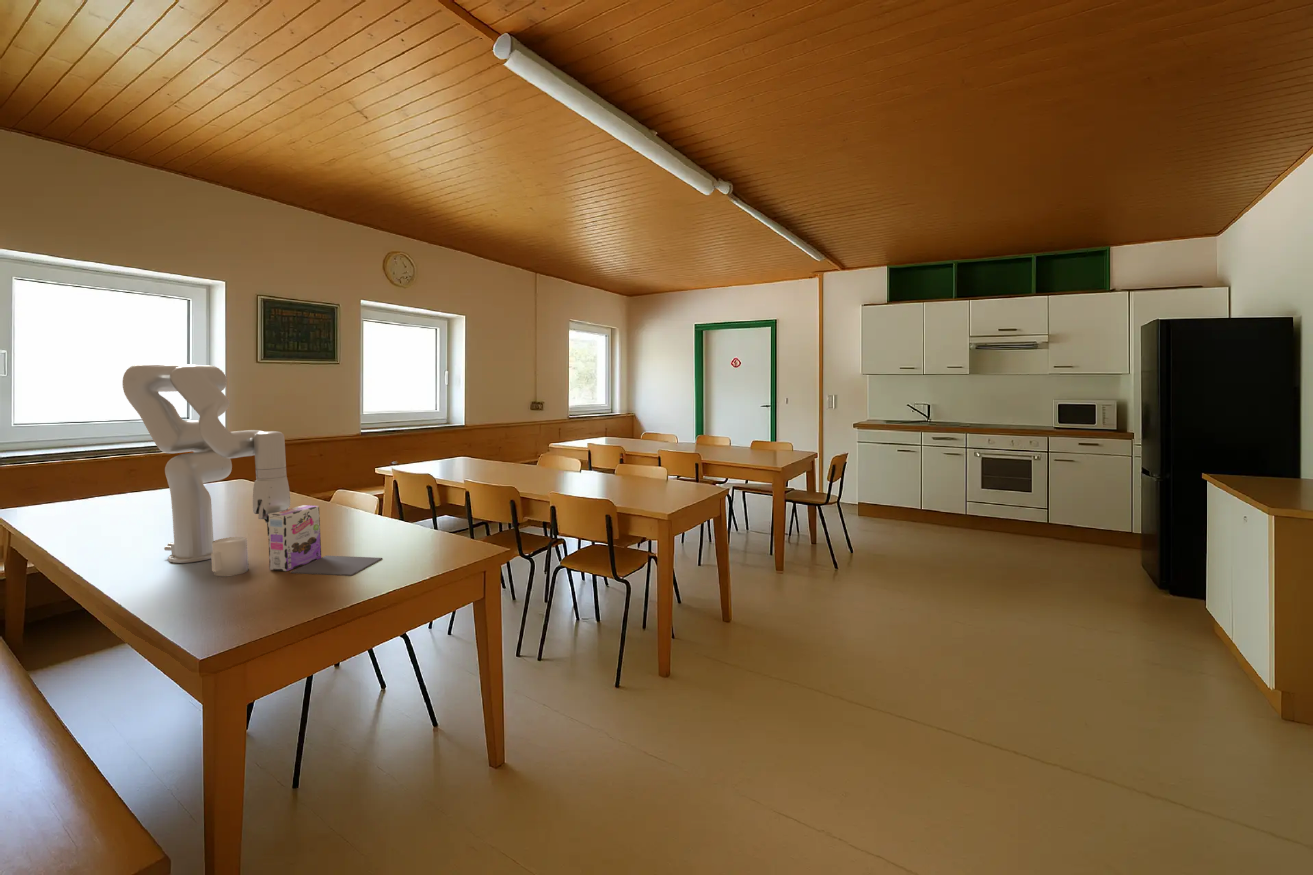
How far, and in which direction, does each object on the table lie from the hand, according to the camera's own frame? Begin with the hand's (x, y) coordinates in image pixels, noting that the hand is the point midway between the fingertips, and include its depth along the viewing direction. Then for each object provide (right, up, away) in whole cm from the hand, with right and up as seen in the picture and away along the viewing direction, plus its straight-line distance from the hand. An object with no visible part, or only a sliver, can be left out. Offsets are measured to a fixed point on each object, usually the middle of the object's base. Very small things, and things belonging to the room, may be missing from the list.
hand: (274, 535), depth 180 cm
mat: (+19, -9, -1) cm, 21 cm away
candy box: (+6, -9, 0) cm, 11 cm away
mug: (-7, -9, -8) cm, 14 cm away
